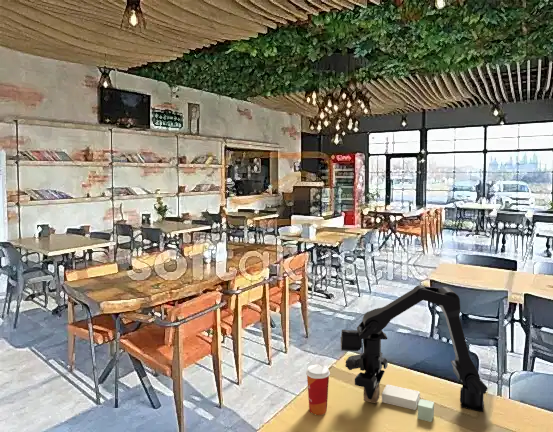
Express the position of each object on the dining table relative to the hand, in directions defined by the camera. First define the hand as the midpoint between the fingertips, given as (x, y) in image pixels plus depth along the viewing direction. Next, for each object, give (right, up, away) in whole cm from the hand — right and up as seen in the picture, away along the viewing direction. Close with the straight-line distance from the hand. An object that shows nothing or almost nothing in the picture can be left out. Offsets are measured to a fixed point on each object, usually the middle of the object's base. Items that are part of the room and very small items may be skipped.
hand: (371, 395), depth 144 cm
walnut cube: (0, -1, 0) cm, 1 cm away
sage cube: (+15, -3, -9) cm, 18 cm away
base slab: (+10, -2, +1) cm, 10 cm away
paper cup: (-18, -3, -5) cm, 19 cm away
